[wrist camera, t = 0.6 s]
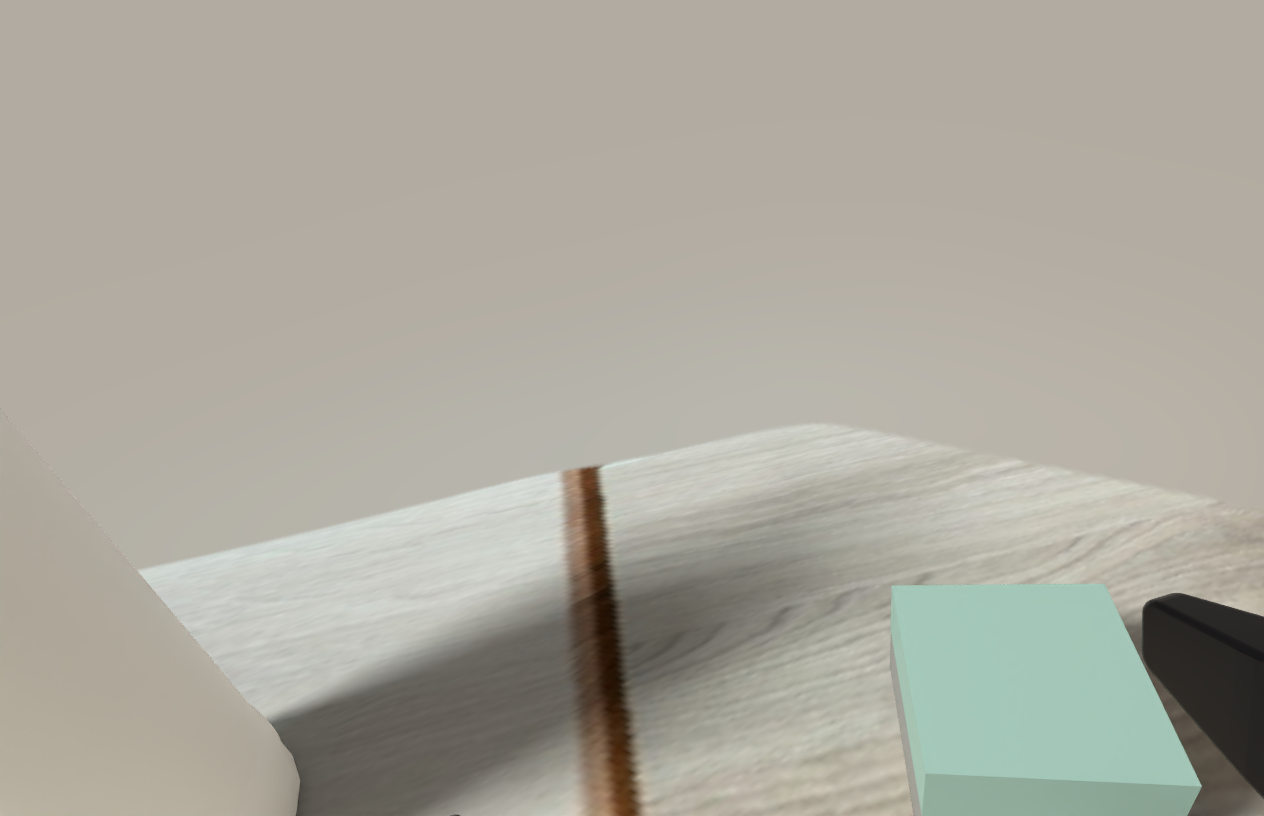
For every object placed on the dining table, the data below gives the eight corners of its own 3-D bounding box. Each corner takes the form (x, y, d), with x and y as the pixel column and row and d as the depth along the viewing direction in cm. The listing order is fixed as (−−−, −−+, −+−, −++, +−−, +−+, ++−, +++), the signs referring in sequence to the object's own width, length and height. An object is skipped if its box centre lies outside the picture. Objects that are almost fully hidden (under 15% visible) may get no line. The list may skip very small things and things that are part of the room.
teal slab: (1179, 832, 19) (1201, 786, 18) (921, 816, 21) (925, 773, 20) (1091, 631, 25) (1104, 583, 23) (890, 629, 26) (891, 585, 25)
